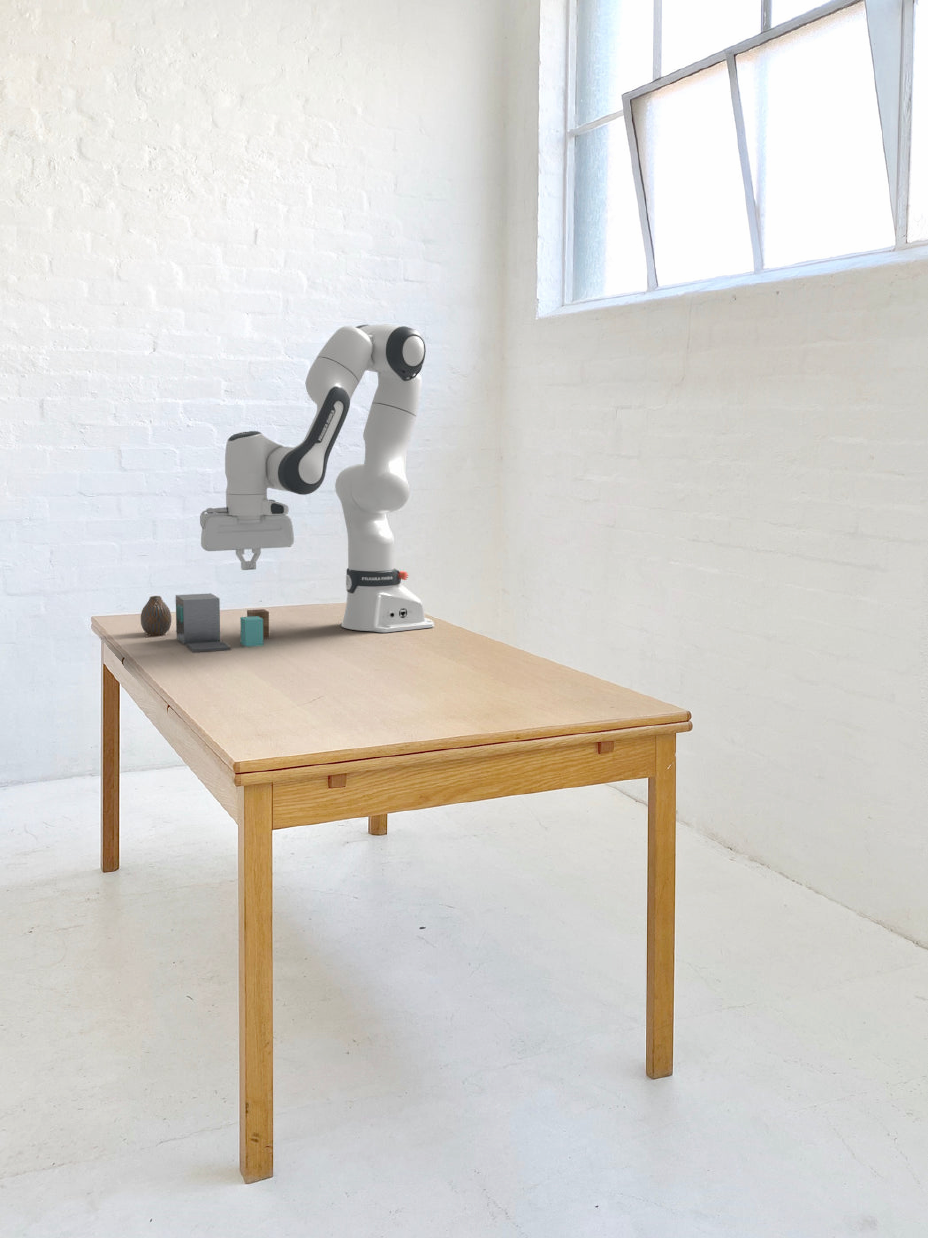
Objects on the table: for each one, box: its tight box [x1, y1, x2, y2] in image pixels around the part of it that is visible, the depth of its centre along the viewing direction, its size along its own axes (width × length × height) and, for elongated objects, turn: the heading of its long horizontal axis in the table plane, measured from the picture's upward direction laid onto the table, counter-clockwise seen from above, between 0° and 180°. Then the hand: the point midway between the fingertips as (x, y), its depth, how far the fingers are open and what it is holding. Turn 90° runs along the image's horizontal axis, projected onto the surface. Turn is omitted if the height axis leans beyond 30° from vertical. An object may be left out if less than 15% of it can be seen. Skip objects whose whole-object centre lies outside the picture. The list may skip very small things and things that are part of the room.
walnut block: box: [246, 608, 270, 639], centre depth 275 cm, size 4×4×6 cm
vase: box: [140, 595, 172, 636], centre depth 276 cm, size 7×7×9 cm
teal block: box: [239, 616, 264, 648], centre depth 265 cm, size 4×4×6 cm
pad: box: [186, 640, 232, 653], centre depth 261 cm, size 8×7×1 cm
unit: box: [175, 593, 221, 646], centre depth 268 cm, size 8×8×10 cm
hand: (248, 569), depth 263 cm, fingers closed
